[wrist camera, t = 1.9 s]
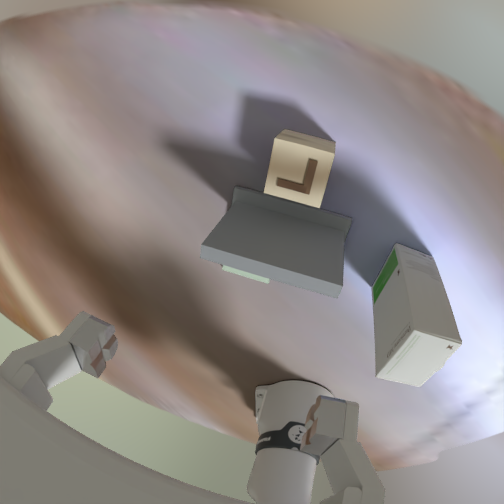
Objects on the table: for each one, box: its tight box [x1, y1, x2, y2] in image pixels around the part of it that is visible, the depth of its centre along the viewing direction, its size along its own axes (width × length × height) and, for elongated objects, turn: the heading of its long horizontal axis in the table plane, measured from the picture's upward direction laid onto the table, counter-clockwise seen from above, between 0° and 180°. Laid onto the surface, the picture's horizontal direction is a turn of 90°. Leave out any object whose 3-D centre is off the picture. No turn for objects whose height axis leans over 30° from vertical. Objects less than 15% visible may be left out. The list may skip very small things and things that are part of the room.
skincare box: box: [371, 243, 462, 387], centre depth 33 cm, size 8×7×16 cm
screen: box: [200, 186, 352, 298], centre depth 35 cm, size 5×15×12 cm, turn 80°
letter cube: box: [264, 129, 336, 208], centre depth 33 cm, size 6×6×6 cm
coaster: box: [222, 265, 270, 284], centre depth 44 cm, size 7×7×1 cm
